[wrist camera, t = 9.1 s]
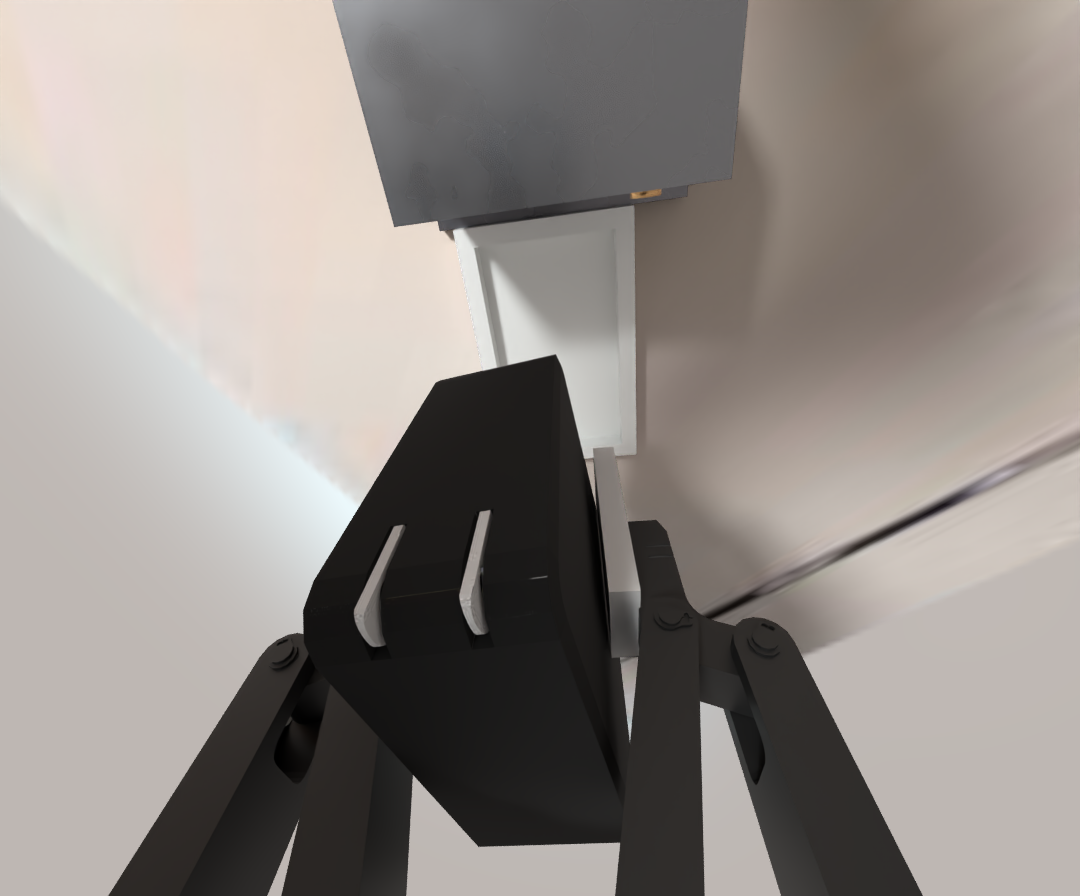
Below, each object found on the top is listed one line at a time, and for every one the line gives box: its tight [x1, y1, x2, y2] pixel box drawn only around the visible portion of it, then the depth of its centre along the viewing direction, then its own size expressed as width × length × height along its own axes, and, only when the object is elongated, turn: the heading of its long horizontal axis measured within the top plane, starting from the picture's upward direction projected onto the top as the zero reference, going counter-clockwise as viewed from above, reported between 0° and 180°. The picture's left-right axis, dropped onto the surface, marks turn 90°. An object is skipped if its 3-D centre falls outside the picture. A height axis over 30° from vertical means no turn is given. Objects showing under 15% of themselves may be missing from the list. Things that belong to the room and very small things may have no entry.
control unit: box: [332, 0, 748, 231], centre depth 18 cm, size 10×14×11 cm
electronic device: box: [303, 354, 630, 847], centre depth 13 cm, size 4×10×10 cm, turn 14°
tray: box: [453, 204, 637, 459], centre depth 28 cm, size 16×10×2 cm, turn 7°
